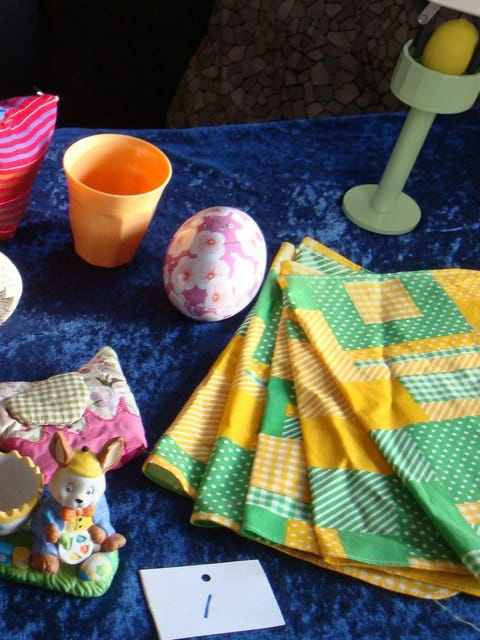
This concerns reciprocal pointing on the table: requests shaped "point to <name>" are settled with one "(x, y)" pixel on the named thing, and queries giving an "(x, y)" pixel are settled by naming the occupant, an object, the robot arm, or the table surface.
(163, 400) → the table surface
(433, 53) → the lemon
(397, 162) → the green goblet
